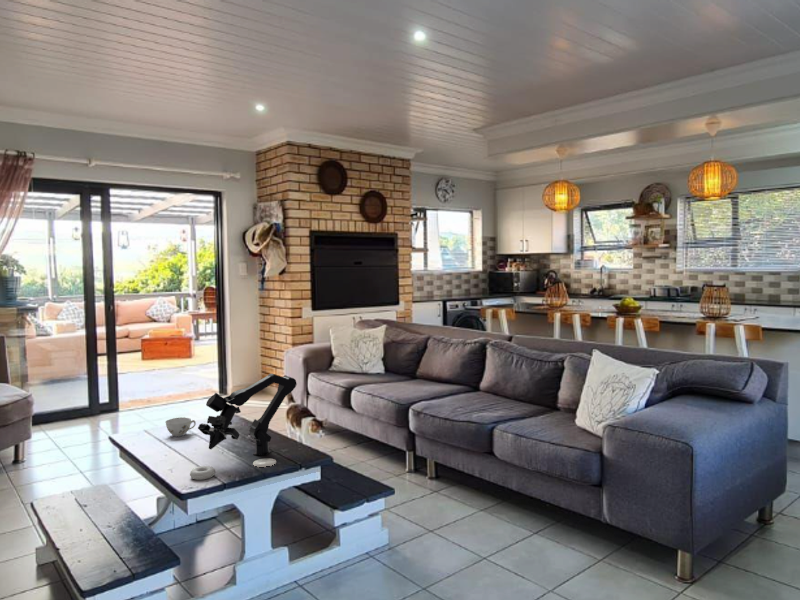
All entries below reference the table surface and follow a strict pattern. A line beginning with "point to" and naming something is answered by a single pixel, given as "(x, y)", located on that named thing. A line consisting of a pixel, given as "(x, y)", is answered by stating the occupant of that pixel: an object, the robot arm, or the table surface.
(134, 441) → the table surface
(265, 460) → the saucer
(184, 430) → the teacup
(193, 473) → the donut
